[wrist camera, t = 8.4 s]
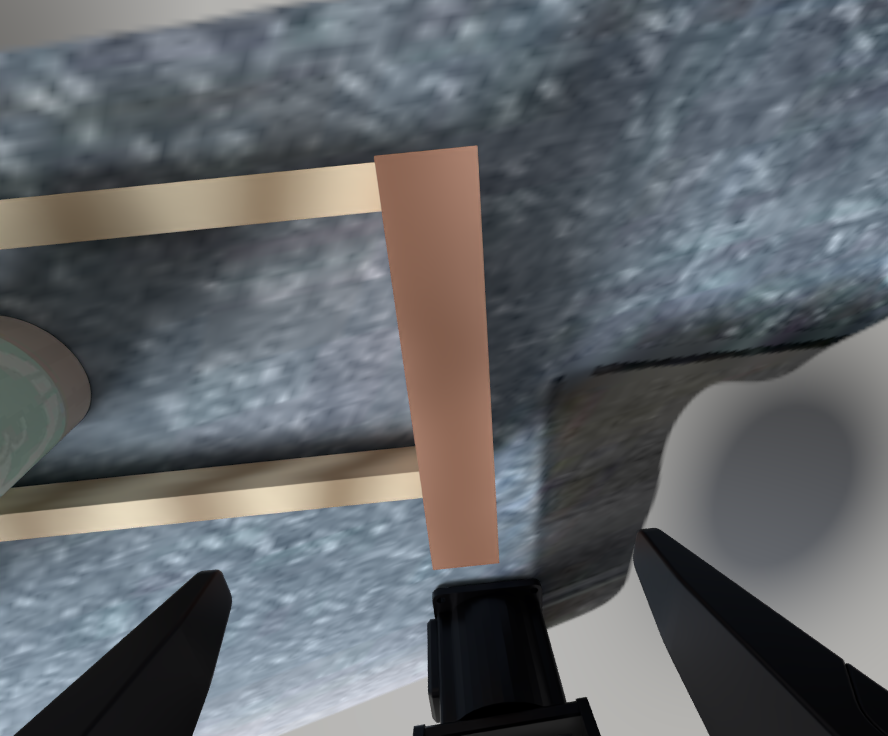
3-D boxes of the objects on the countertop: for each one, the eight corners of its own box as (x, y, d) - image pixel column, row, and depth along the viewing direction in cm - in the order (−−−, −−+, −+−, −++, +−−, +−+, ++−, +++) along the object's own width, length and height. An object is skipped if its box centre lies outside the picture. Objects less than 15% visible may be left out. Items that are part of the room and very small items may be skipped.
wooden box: (458, 156, 16) (477, 145, 10) (479, 464, 21) (499, 563, 16) (-228, 225, 16) (-581, 251, 10) (-21, 516, 21) (-173, 633, 16)
